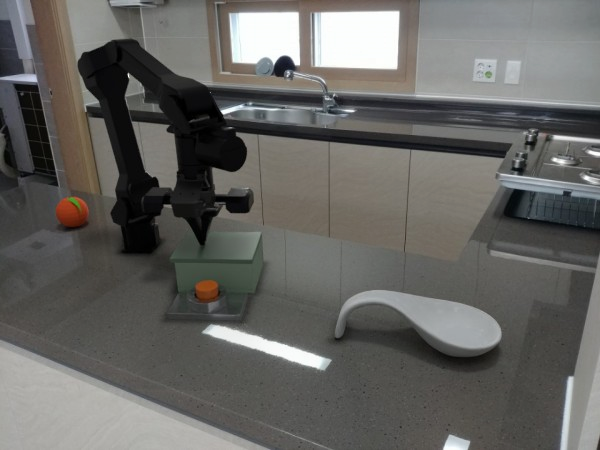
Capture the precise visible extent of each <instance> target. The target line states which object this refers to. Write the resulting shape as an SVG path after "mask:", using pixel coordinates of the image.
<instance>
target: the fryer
mask: <svg viewBox="0 0 600 450" xmlns="http://www.w3.org/2000/svg"><path fill="white" fill-rule="evenodd" d="M263 267H264V243H263V236H262V237H261V240H260V243H259V246H258V249H257V252H256V255H255V257H254V260H253V263H252V264H242V263H174V270H175V277H176V284H177V293H178V292H179V291H187V292H189V290H191V289H193V288H194V287H196V285H197V284H198V283H199V282H202V281H207V280H211V281H215V282H216V283H217V284H219V285H222V286H224V287H225V288H226V289H227V291H228V292H234V293H248V294H255V293H256V289H257V286H258V283H259V280H260V276H261V273H262V270H263Z"/></svg>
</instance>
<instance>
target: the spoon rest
mask: <svg viewBox="0 0 600 450" xmlns="http://www.w3.org/2000/svg"><path fill="white" fill-rule="evenodd" d="M367 306H383V307H386V308H388V309H390V310H392V311H394V312H395V313H397V314H399V315H400V316H401V317H402V318H403V319H404V320H405V321H406V322H407V323H408V324H409V325H410V326H411V327H412V328H413V329H414V330H415V331H416V332H417V334H418V335H419V336H420V337H421V338H422V339H423V341H425V342H426V344H428V345H429V346H430V347H432V348H433V349H435V350H436V351H438V352H440V353H441V354H444V355H446V356H450V357H455V358H456V357H457V358H472V357H478V356H481V355H484V354H485V353H488V352H490V351H491V350H493V349H494V348H496V347H497V346H498V345H499V344H500V343H501V340H502V337H503V332H502V329H501V325H500V324H499V323H498V322H497V320H496V319H495V318H494V317H492V316H491V315H490V314H488V313H487V312H485V311H483V310H481V309H479V308H477V307H475V306H472V305H468V304H465V303H461V302H457V301H451V300H445V299H438V298H432V297H427V296H421V295H417V294H410V293H406V292H400V291H395V290H394V291H393V290H385V289H372V290H366V291H363V292H362V291H361V292H358V293H357V294H354V295H352V296H351V297H349V298H348V299H347V300H346V301H345V302H344V304H343V305H342V306H341V309H340V312H339V315H338V319H337V321H336V326H335V330H334V337H335V338H336V339H340V338H341V337H343V335H344V333H345V330H346V326H347V323H348V322H347V321H348V318H349V317H350V315H351V314H352V313H354V311H357V310H358V309H360V308H364V307H367Z"/></svg>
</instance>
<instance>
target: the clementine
mask: <svg viewBox="0 0 600 450" xmlns="http://www.w3.org/2000/svg"><path fill="white" fill-rule="evenodd" d="M89 214H90V213H89V207H88V204H87V203H86V201H84V200H83V199H82V198H79V197H77V196H68V197H65V198H63V199H62V200H60V201H59V202H58V203H57V205H56V207H55V216H56V219H57V220H58V222H59V223H60V224H62V225H63V226H65V227H67V228H77V227H79V226H82V225H83V224H84V223H85V222H86V221H87V220H88V218H89Z"/></svg>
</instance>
